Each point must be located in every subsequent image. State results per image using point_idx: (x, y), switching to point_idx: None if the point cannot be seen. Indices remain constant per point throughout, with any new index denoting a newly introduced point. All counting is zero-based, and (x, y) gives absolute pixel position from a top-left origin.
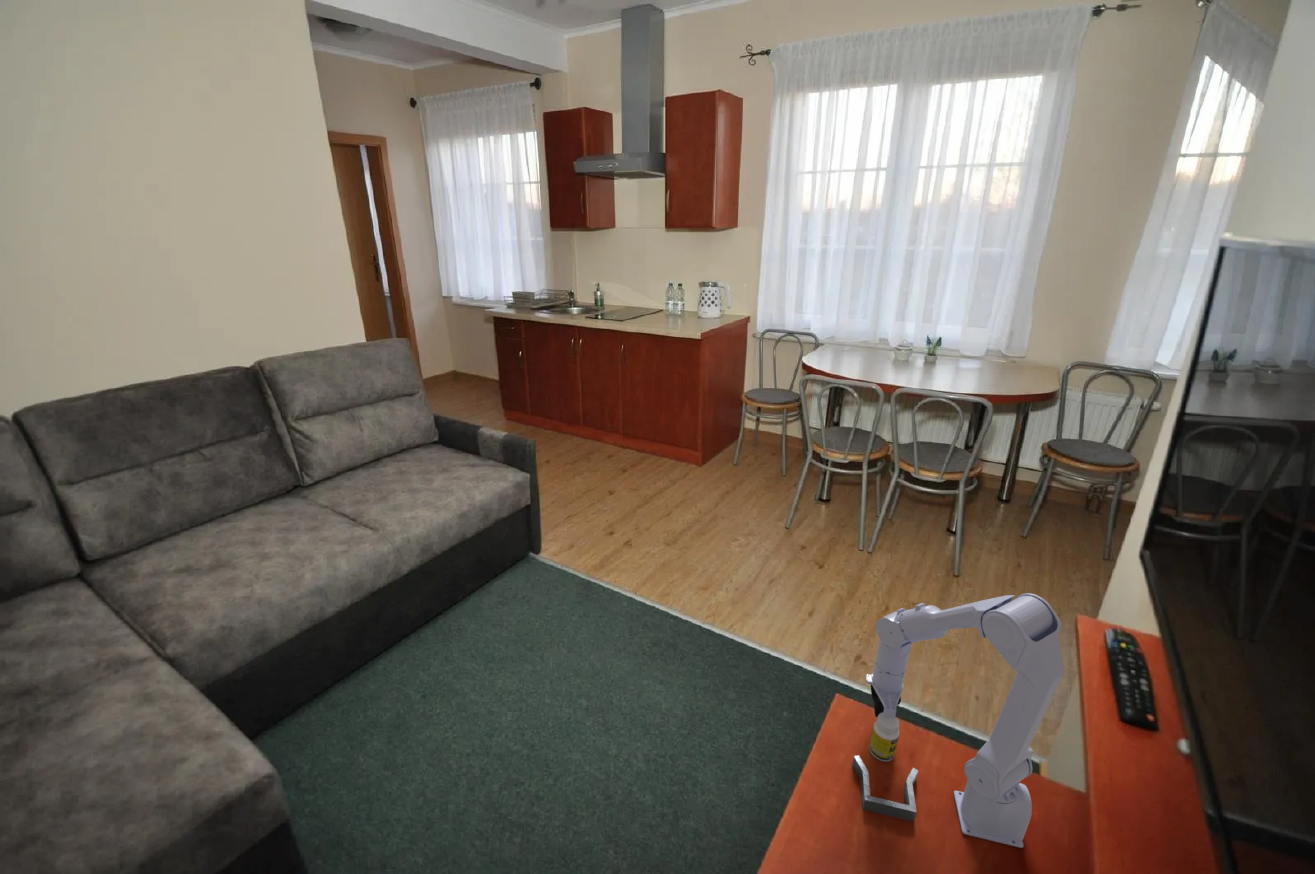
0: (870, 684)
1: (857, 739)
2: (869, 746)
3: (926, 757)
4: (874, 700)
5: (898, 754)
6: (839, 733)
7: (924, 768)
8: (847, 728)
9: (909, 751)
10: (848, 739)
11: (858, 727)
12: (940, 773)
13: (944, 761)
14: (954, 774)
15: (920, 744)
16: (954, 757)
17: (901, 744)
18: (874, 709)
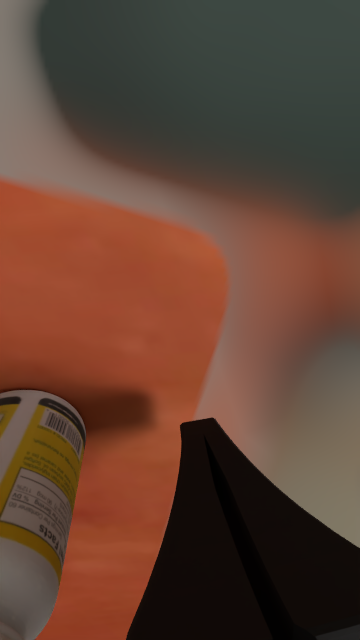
0: (344, 619)
1: (46, 333)
2: (13, 394)
3: (91, 547)
4: (139, 614)
5: None
6: (36, 239)
7: None
8: (95, 280)
9: (91, 507)
10: (20, 291)
11: (127, 331)
12: None
13: (102, 581)
14: (64, 604)
15: (141, 527)
16: (131, 595)
17: (111, 483)
18: (196, 445)
